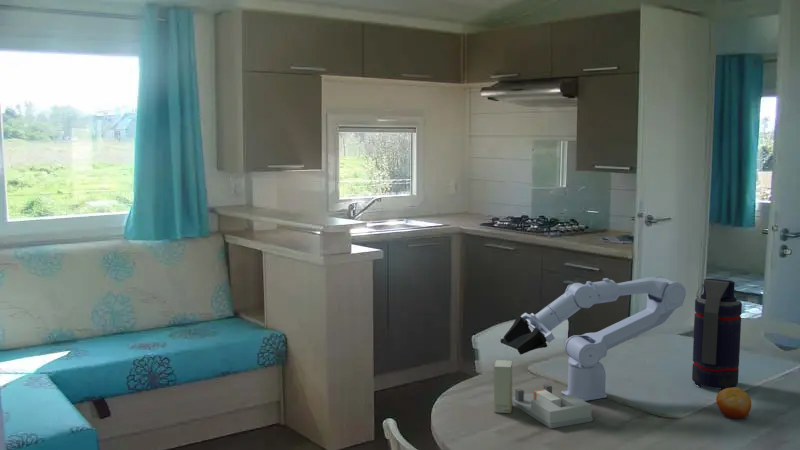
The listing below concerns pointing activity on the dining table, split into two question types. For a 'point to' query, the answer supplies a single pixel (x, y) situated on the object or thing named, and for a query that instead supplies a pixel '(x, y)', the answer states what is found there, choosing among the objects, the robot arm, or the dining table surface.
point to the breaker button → (547, 396)
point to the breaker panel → (553, 408)
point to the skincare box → (503, 386)
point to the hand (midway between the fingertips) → (511, 345)
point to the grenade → (716, 335)
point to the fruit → (734, 402)
